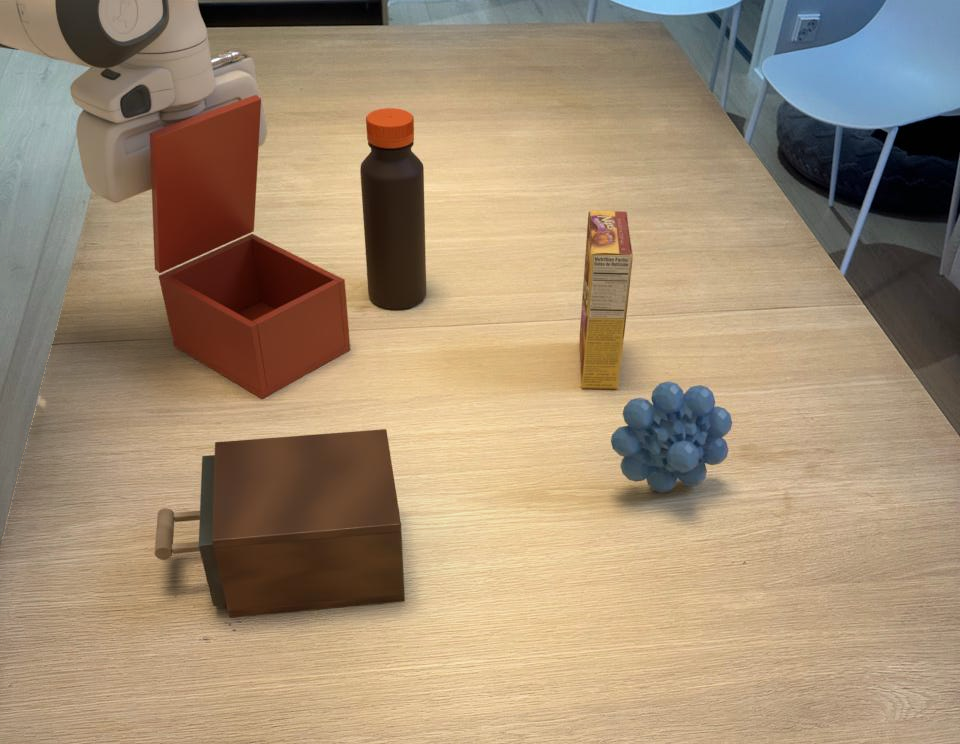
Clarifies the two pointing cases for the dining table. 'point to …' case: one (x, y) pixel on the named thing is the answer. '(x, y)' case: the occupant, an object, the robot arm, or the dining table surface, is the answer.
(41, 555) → the dining table surface
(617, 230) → the candy box
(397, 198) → the bottle
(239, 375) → the chest
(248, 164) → the lid
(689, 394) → the blue knobbed flower
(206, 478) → the pulled out drawer
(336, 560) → the cabinet
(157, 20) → the robot arm
